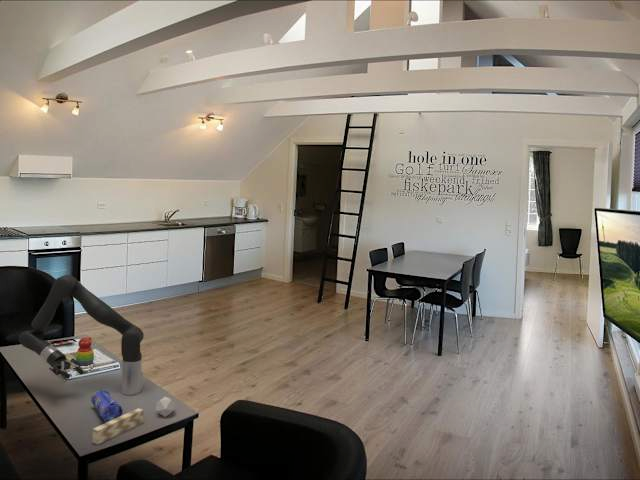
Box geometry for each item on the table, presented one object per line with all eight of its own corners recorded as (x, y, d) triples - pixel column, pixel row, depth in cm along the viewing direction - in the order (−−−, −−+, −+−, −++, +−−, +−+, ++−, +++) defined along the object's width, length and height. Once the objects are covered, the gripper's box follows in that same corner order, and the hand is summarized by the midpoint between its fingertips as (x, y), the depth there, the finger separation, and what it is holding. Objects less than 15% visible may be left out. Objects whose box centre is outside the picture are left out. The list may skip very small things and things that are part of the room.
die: (162, 409, 247) (151, 398, 242) (178, 402, 247) (168, 390, 242) (162, 423, 240) (151, 411, 235) (178, 415, 241) (168, 402, 235)
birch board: (138, 420, 234) (138, 408, 233) (143, 422, 233) (143, 409, 232) (92, 442, 213) (92, 428, 212) (97, 444, 212) (97, 430, 211)
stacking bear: (90, 363, 298) (91, 333, 296) (97, 368, 291) (98, 338, 289) (71, 367, 290) (71, 337, 288) (78, 372, 283) (78, 341, 281)
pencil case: (123, 422, 232) (123, 402, 231) (103, 427, 227) (104, 406, 225) (108, 403, 249) (109, 385, 248) (90, 407, 244) (90, 388, 242)
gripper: (44, 352, 242) (67, 372, 238) (67, 347, 256) (90, 365, 251) (37, 366, 243) (61, 385, 239) (61, 359, 257) (83, 378, 252)
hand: (75, 375), depth 245 cm, fingers open, 8 cm apart
